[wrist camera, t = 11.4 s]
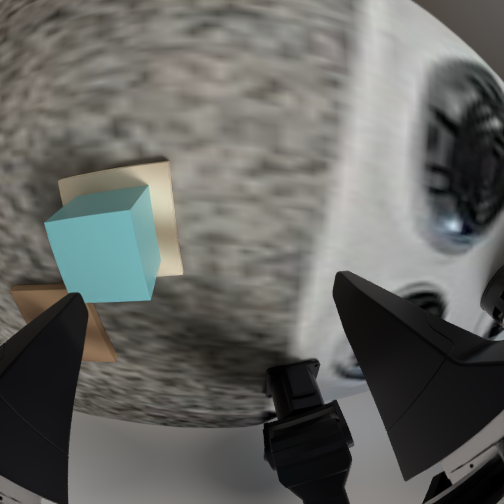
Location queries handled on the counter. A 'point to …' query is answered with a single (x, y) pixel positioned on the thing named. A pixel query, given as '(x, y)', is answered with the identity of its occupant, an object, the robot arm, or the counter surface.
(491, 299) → the french press
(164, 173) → the board
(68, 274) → the teal cube
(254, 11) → the counter surface
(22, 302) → the post stand
